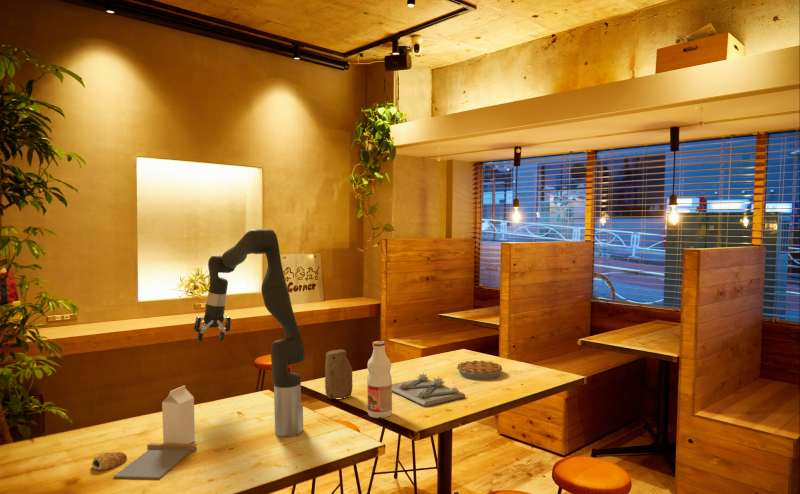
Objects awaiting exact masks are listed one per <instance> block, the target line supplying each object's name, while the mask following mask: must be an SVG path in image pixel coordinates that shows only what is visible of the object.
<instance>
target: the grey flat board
mask: <svg viewBox="0 0 800 494" xmlns="http://www.w3.org/2000/svg"><path fill="white" fill-rule="evenodd" d="M146 446H147V447H146V451H145V452H144V453H142V454H140V456H138V457H137V458H136V459H134V460H133V461H131V462H130V463H129V464H128V465H126V466H125V467H124V468H123V469H121V470H119V471H118V472H117V473H116V474H114V475H113V479H129V480H131V479H132V480H133V479H134V480H137V479H140V480H161V479H162V478H163V477H164V476H165V475H166V474H167V473H168V472H170V471H171V470H172V469H173V468H174V467H175V466H176V465H178V464H179V463H180V462H182V460H183V459H185V458H186V457H187V456H188V455H189V454H190V453H191V452H196V450H197V443H190V444H168V443H163V442H161V443H160V442H159V443H158V442H157V443H156V442H155V443H154V442H149V443H147V444H146Z"/></svg>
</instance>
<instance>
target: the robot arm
mask: <svg viewBox="0 0 800 494" xmlns="http://www.w3.org/2000/svg"><path fill="white" fill-rule="evenodd" d="M250 254H251V255H252V254H253V255H254V254H255V255H262V254H264V255H265V256H266V261H267V262H266V263H267V269H266V273H265V275H264V277H263V280H262V282H261V283H262V284H261V288H260V289H261V295H262V298H263V303H264V306H265V308H266V310H267V311H268V313H270V315H271V316H272V317H273V318H274V319H275V320H276V321H277V322H278V323H279V324H280V325H281V328H282V329H283V332H284V334H285V337H286V338H281V339H278V340H274V341H273V342H272V344H271V347H270V361H271V362H270V363H271V375H272V378H273V395H274V396H273V401H274V403H273V405H274V433H275V435H276V436H278V437H282V438H288V437H289V438H290V437H295V436H296V437H297V436H300V435H301V434H302V432H303V431H304V404H303V403H302V390H301V389H302V381H301V380H302V377H301V375H300V374H298V373H296V372H291V371H289V368H288V366H291V365H296V364H300V363H301V362H303V361H304V359H305V356H306V349H305V344H304V341H303V338H302V335H301V332H300V329H299V327H298V324H297V320H296V317H295V314H294V310H293V306H292V302H291V301H292V300H291V297H290V293H289V288H288V285H287V281H286V278H285V274H284V268H283V265H282V259H281V252H280V246H279V241H278V236H277V234H276V232H275V230H273V229H270V228H254V229H250V230H248V231H247V232H245V234H244V235H243V236H242V237H241V238H240V239H239V240H238V241H237V243H236V244H234V246H232V247H231V248H228V250H226V251H224V253H222V255H218V254H216V255H215V254H214V255H211V256H210V257H209V259H208V263H207V267H208V273H209V287H208V292H207V296H206V300H205V302H206V304H205V310H204V315H203V316H199V315H196V317H195V322H194V327H193V331H195V332H196V333H197V338H196V339H197V341H198V342H199V343H203V337H204V332H205V331H206V330H208V329H209V328H216V329H217V328H218V329H219V330H220V331H219V335H218V341H219V342H223V340H224V339H225V333H227V332H230V330H231V320H232V318H231V317H230V316H229V315H226V316H224V315H225V310H226V304H227V303H226V302H227V292H228V285H229V281H228V280H227V279H226V278H223V277H220V276H219V274H223V273H224V274H229V273H232V272H234V271H235V269H236V268H237V266H238V265H240V264H242V263H244V262H245V261H246V259H247V257H248V255H250ZM223 322H224V326H223V324H222V323H223ZM201 323H202V324H201Z"/></svg>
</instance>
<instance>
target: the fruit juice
mask: <svg viewBox="0 0 800 494" xmlns="http://www.w3.org/2000/svg"><path fill="white" fill-rule="evenodd" d="M372 347H373V350H372V354H371V357H370V358H369V359H368V361H367V366H366V367H367V371H368V375H367V379H366V380H367V381H366V382H367V383H366V386H367V389H366V390H367V393H366V394H367V414H368V416H369V417H371V418H374V419H380V418H379V417H385V418H388V417H387V416H389V417H391V415H392V414H393V392H392V384H393V382H392V380H393V379H392V374H391V370H392V361H391V359H389V357H388V356H387V353H386V350H385V349H386V348H385V347H386V342H385V341H384V340H382V341H381V340H376V341H372Z"/></svg>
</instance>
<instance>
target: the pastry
mask: <svg viewBox="0 0 800 494" xmlns="http://www.w3.org/2000/svg"><path fill="white" fill-rule="evenodd" d="M127 460H128V457H127V455H126V453H125V452H121V451H118V452H105V453H103V454H99V455H98V456H95V457H93V460H92V462H91V466H92V467H93V469H94V470H98V471H106V470H109V469H110V468H115V467H117V466H119V465H122V464H124V463H125V462H126V461H127Z"/></svg>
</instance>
